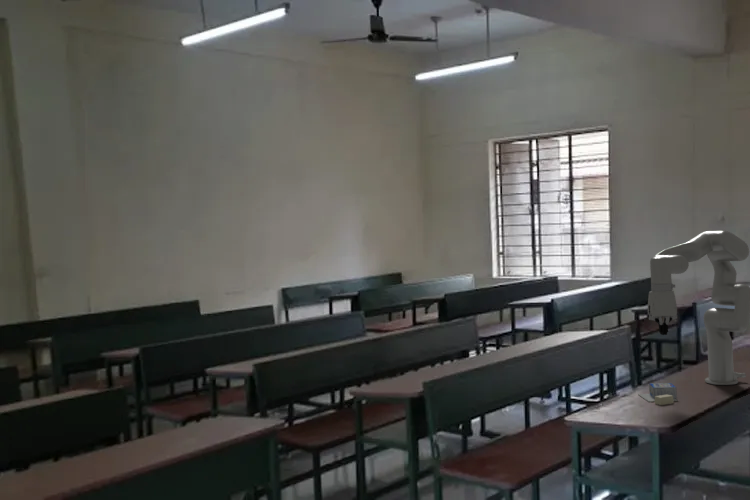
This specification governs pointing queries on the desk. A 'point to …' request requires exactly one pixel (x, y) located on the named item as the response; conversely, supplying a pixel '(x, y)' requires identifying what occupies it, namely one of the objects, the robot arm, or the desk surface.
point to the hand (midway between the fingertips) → (663, 334)
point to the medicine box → (662, 389)
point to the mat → (650, 397)
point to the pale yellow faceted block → (664, 399)
